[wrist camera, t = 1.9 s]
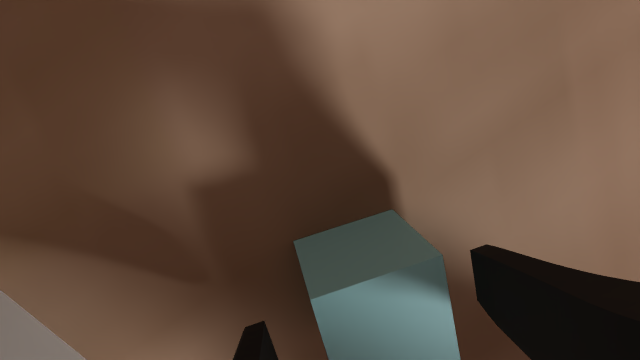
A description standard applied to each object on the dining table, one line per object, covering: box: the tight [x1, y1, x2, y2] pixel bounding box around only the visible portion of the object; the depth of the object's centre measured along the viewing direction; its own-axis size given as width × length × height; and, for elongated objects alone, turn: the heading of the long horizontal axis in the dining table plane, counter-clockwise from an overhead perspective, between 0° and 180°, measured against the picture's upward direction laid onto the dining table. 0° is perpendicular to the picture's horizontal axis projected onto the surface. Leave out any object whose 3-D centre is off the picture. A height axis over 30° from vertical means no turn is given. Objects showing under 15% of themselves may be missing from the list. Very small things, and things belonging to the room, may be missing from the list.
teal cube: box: [293, 209, 460, 360], centre depth 13 cm, size 4×4×4 cm
